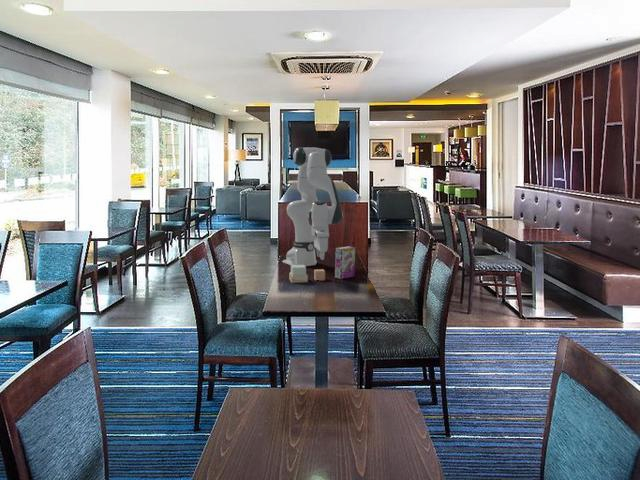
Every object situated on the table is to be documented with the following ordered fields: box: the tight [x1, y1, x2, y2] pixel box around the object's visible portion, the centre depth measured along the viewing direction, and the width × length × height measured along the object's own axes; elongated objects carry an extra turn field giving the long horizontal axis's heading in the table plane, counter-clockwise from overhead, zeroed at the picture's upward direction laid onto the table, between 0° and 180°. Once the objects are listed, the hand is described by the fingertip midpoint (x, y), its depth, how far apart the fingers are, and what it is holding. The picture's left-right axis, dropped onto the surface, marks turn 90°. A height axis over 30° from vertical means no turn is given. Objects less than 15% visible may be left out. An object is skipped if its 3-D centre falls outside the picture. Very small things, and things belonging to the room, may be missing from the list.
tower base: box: [288, 271, 309, 284], centre depth 295 cm, size 8×8×4 cm
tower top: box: [290, 265, 307, 275], centre depth 295 cm, size 7×7×4 cm
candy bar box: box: [334, 246, 356, 280], centre depth 302 cm, size 11×5×16 cm, turn 135°
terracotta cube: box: [313, 268, 326, 281], centre depth 298 cm, size 5×5×5 cm
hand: (320, 258), depth 296 cm, fingers open, 8 cm apart
